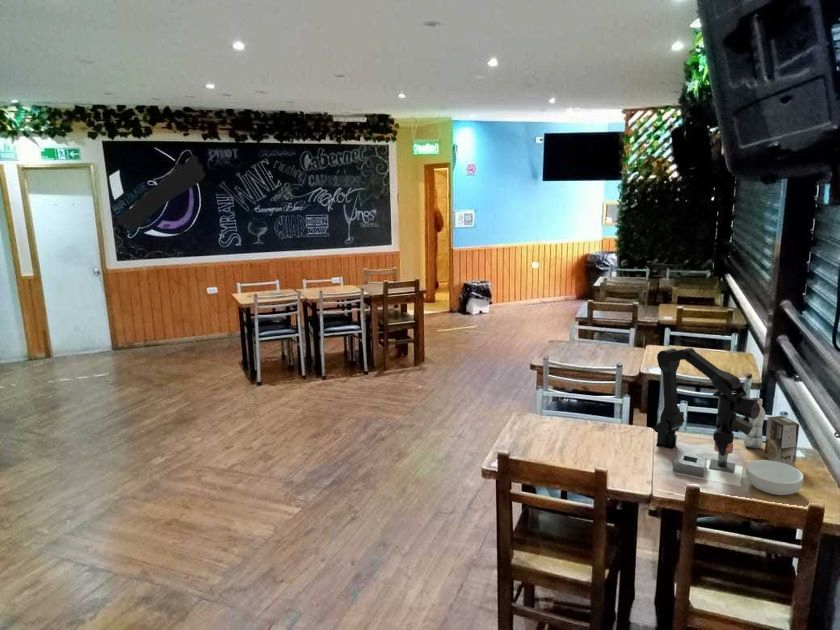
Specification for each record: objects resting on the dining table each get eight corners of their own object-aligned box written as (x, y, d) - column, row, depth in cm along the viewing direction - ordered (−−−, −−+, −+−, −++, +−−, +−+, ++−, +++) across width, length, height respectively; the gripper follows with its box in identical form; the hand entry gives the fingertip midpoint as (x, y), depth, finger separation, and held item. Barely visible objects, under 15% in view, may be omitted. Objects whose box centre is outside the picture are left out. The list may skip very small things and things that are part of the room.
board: (673, 474, 210) (674, 472, 210) (680, 456, 225) (680, 454, 224) (740, 487, 200) (740, 486, 200) (742, 467, 214) (742, 466, 214)
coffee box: (796, 465, 214) (800, 424, 211) (779, 466, 214) (783, 425, 211) (779, 455, 223) (783, 415, 220) (763, 456, 223) (767, 416, 220)
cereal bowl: (741, 474, 209) (743, 456, 207) (796, 482, 202) (798, 463, 201) (747, 497, 193) (749, 477, 192) (806, 506, 187) (809, 486, 185)
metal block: (672, 472, 211) (673, 461, 210) (676, 461, 219) (677, 451, 218) (703, 478, 206) (704, 467, 205) (706, 466, 214) (706, 456, 213)
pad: (708, 468, 213) (709, 467, 213) (711, 460, 220) (711, 459, 219) (733, 473, 209) (733, 472, 209) (735, 464, 215) (735, 463, 215)
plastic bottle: (765, 450, 227) (770, 401, 223) (748, 450, 227) (752, 402, 224) (756, 443, 234) (761, 396, 230) (739, 444, 234) (743, 396, 230)
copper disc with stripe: (730, 470, 210) (732, 447, 208) (712, 467, 213) (714, 444, 211) (731, 463, 215) (733, 441, 213) (713, 460, 218) (715, 438, 216)
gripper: (751, 423, 198) (747, 465, 201) (753, 405, 214) (749, 445, 217) (714, 417, 204) (711, 459, 207) (719, 401, 219) (716, 439, 222)
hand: (723, 450), depth 213 cm, fingers open, 9 cm apart
